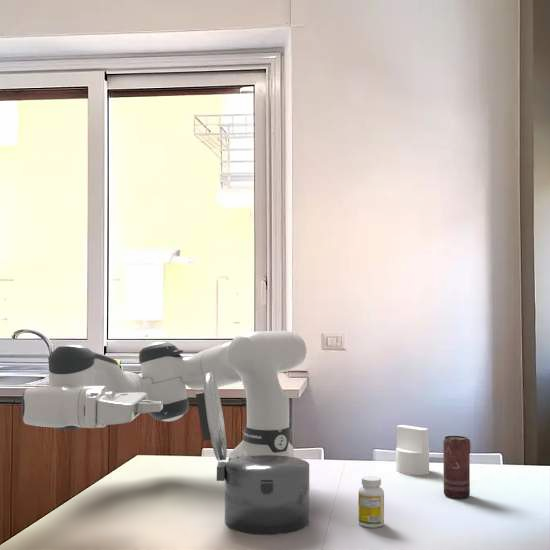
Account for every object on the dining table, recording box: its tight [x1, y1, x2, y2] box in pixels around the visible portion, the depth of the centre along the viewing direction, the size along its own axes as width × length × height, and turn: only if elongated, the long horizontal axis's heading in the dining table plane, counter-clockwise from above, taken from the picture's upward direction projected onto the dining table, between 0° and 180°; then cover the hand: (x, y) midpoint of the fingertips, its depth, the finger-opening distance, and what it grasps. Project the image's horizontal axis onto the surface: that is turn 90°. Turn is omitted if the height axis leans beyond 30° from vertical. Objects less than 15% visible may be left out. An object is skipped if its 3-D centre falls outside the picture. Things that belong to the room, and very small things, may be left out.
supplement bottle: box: [357, 475, 385, 529], centre depth 149 cm, size 5×5×10 cm
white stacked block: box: [395, 424, 430, 476], centre depth 196 cm, size 9×9×12 cm
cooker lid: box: [195, 373, 228, 462], centre depth 152 cm, size 19×19×4 cm
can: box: [442, 435, 472, 500], centre depth 171 cm, size 6×6×14 cm
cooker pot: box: [216, 455, 310, 535], centre depth 152 cm, size 20×23×12 cm
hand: (161, 406), depth 152 cm, fingers closed
